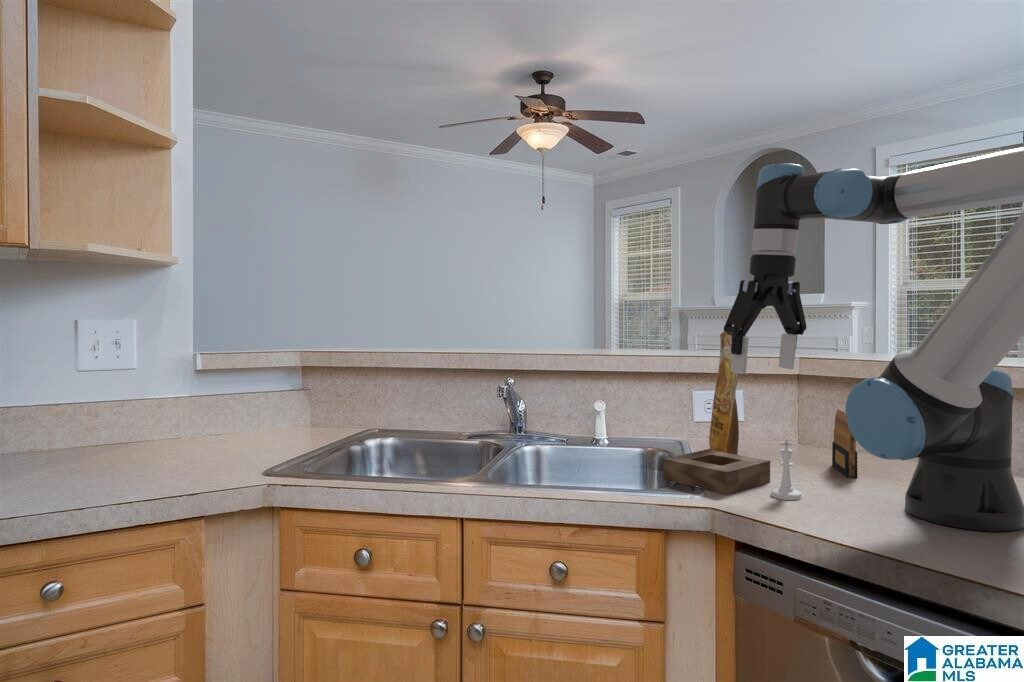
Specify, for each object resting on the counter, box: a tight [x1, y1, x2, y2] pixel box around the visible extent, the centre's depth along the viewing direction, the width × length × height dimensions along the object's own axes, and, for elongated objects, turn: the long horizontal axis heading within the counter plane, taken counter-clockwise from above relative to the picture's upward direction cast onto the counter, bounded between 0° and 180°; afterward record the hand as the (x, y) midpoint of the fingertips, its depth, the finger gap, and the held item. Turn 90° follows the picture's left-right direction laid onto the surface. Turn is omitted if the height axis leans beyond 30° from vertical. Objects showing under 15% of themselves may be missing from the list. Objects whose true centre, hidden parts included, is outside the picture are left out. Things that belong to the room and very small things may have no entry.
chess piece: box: [770, 438, 803, 501], centre depth 109 cm, size 5×5×10 cm
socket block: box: [662, 449, 771, 496], centre depth 120 cm, size 14×14×4 cm
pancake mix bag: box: [708, 331, 747, 455], centre depth 144 cm, size 7×19×28 cm, turn 170°
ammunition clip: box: [831, 409, 858, 479], centre depth 126 cm, size 11×2×12 cm, turn 167°
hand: (762, 370), depth 116 cm, fingers open, 13 cm apart
